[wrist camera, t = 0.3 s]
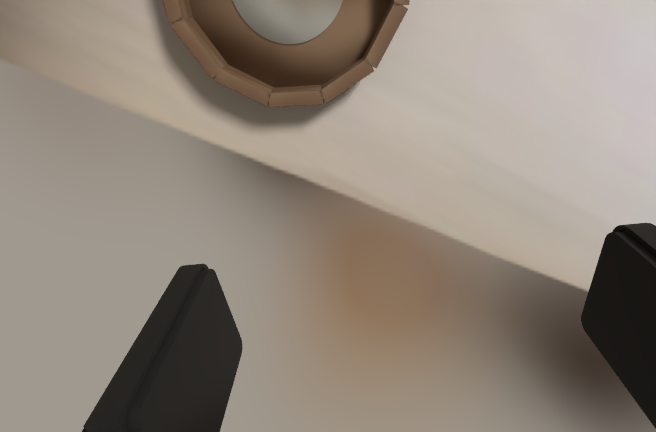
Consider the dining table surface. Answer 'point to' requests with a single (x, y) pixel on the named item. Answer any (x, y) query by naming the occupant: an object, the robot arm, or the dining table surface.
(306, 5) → the round wooden tray
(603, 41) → the dining table surface
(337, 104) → the dining table surface
